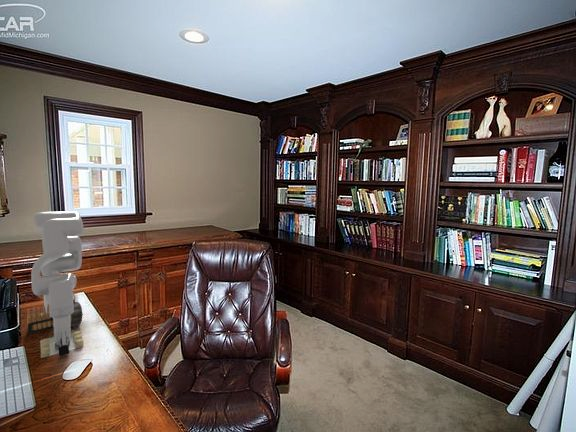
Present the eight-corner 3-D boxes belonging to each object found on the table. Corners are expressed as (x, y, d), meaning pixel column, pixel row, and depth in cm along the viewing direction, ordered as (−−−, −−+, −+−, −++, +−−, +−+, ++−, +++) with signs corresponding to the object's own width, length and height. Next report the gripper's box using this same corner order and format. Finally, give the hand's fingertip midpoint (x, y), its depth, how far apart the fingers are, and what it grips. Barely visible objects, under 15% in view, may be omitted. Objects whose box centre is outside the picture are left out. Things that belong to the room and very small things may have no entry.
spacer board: (40, 341, 130) (40, 334, 130) (79, 331, 139) (79, 325, 139) (41, 359, 117) (40, 352, 116) (84, 347, 126) (83, 340, 125)
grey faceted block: (54, 346, 125) (54, 341, 125) (69, 343, 128) (69, 337, 128) (55, 351, 122) (54, 345, 121) (70, 347, 125) (70, 342, 125)
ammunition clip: (27, 334, 135) (26, 309, 134) (27, 333, 136) (25, 307, 135) (57, 327, 143) (56, 303, 141) (56, 325, 144) (55, 301, 143)
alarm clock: (65, 324, 145) (63, 292, 144) (78, 321, 149) (77, 290, 148) (71, 332, 138) (69, 298, 136) (84, 328, 142) (83, 295, 140)
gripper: (48, 306, 120) (51, 349, 122) (50, 319, 109) (53, 366, 111) (71, 301, 125) (73, 343, 127) (75, 314, 114) (77, 359, 116)
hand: (64, 354), depth 119 cm, fingers closed
